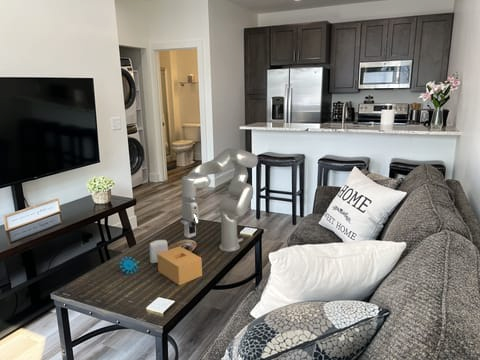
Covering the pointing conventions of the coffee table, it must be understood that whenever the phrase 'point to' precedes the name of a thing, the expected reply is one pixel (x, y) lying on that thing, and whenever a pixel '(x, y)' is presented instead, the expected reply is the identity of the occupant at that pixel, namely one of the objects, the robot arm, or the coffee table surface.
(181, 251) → the tissue box
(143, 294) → the coffee table surface
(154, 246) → the photo printer
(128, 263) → the gear
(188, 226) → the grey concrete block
